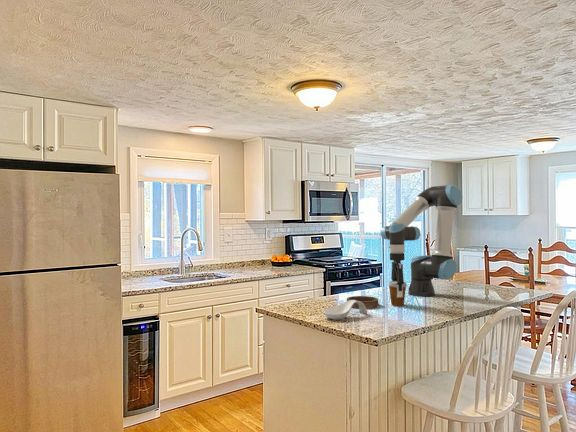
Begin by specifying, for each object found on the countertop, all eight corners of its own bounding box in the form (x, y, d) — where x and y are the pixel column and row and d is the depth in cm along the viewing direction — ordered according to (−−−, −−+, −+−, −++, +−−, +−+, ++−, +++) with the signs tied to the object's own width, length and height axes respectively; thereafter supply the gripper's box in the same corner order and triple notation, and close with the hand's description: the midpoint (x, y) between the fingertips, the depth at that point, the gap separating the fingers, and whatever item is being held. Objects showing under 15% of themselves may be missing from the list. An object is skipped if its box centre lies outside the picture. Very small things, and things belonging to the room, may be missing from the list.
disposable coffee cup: (407, 307, 224) (407, 283, 224) (388, 306, 226) (388, 283, 226) (406, 303, 233) (406, 281, 233) (388, 303, 235) (387, 280, 235)
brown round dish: (358, 301, 241) (358, 294, 241) (385, 305, 229) (385, 298, 229) (339, 305, 230) (339, 298, 230) (366, 310, 217) (366, 303, 217)
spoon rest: (335, 323, 193) (335, 306, 193) (318, 318, 202) (317, 302, 202) (372, 315, 207) (372, 300, 207) (354, 311, 216) (354, 297, 216)
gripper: (385, 251, 240) (385, 291, 240) (394, 254, 218) (395, 299, 218) (399, 251, 240) (399, 291, 240) (409, 254, 218) (410, 299, 218)
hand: (397, 295), depth 229 cm, fingers closed on disposable coffee cup, 9 cm apart
